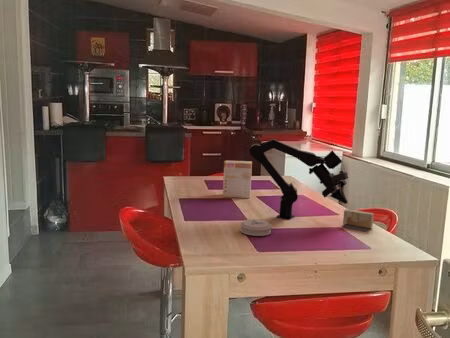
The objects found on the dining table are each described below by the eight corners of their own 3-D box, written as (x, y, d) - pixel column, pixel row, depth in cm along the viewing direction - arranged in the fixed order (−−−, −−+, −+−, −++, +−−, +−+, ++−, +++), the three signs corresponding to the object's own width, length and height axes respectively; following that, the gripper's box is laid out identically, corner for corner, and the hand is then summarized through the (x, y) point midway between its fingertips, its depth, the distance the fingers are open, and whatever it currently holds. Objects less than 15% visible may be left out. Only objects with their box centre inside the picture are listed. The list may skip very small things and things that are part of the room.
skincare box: (343, 210, 200) (372, 214, 194) (346, 208, 204) (374, 212, 198) (342, 224, 201) (370, 228, 195) (345, 222, 205) (372, 226, 199)
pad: (366, 231, 193) (366, 230, 193) (343, 227, 198) (343, 226, 198) (371, 226, 201) (372, 225, 201) (349, 222, 206) (349, 221, 206)
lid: (252, 226, 194) (252, 215, 193) (276, 233, 186) (277, 221, 185) (234, 232, 184) (234, 221, 184) (259, 240, 177) (260, 227, 176)
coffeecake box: (250, 195, 252) (252, 161, 249) (249, 198, 245) (251, 163, 242) (223, 194, 253) (225, 159, 250) (222, 196, 246) (223, 161, 243)
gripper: (331, 167, 193) (354, 196, 189) (343, 162, 209) (366, 189, 205) (312, 183, 198) (335, 211, 194) (326, 177, 214) (347, 203, 210)
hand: (346, 203), depth 201 cm, fingers closed
